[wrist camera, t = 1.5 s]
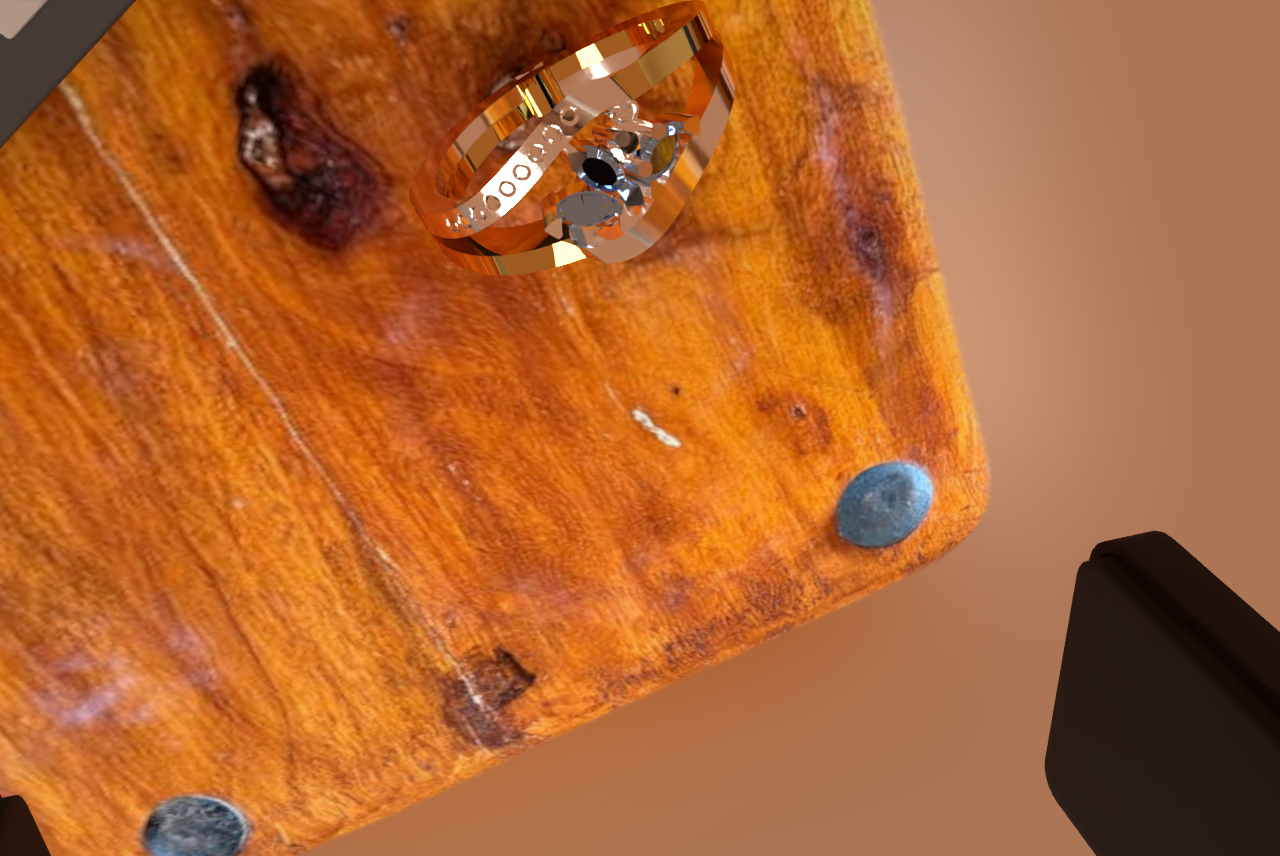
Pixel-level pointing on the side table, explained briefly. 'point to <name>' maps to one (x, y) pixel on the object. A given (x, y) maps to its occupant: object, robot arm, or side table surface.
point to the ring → (583, 148)
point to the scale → (45, 49)
